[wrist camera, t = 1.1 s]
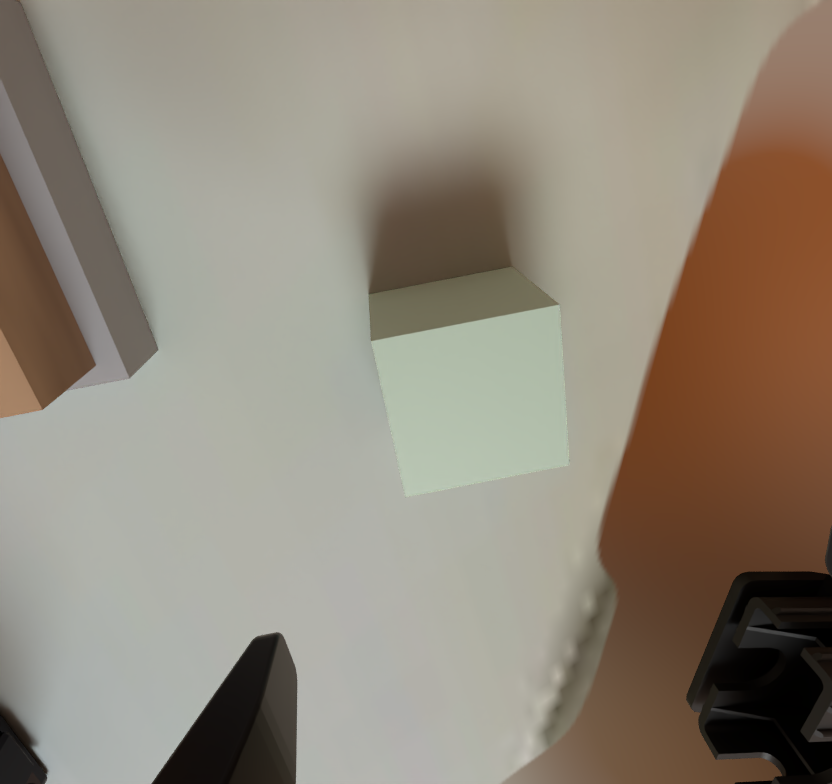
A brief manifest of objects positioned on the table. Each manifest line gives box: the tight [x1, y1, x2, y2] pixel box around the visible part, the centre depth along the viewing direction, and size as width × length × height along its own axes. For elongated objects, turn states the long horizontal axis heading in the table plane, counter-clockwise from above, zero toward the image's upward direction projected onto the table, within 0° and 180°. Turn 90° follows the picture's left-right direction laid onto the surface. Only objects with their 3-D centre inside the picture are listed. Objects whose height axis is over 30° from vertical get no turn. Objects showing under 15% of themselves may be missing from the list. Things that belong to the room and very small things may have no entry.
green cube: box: [369, 267, 569, 498], centre depth 17 cm, size 5×5×5 cm
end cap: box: [686, 571, 832, 784], centre depth 25 cm, size 10×7×7 cm
